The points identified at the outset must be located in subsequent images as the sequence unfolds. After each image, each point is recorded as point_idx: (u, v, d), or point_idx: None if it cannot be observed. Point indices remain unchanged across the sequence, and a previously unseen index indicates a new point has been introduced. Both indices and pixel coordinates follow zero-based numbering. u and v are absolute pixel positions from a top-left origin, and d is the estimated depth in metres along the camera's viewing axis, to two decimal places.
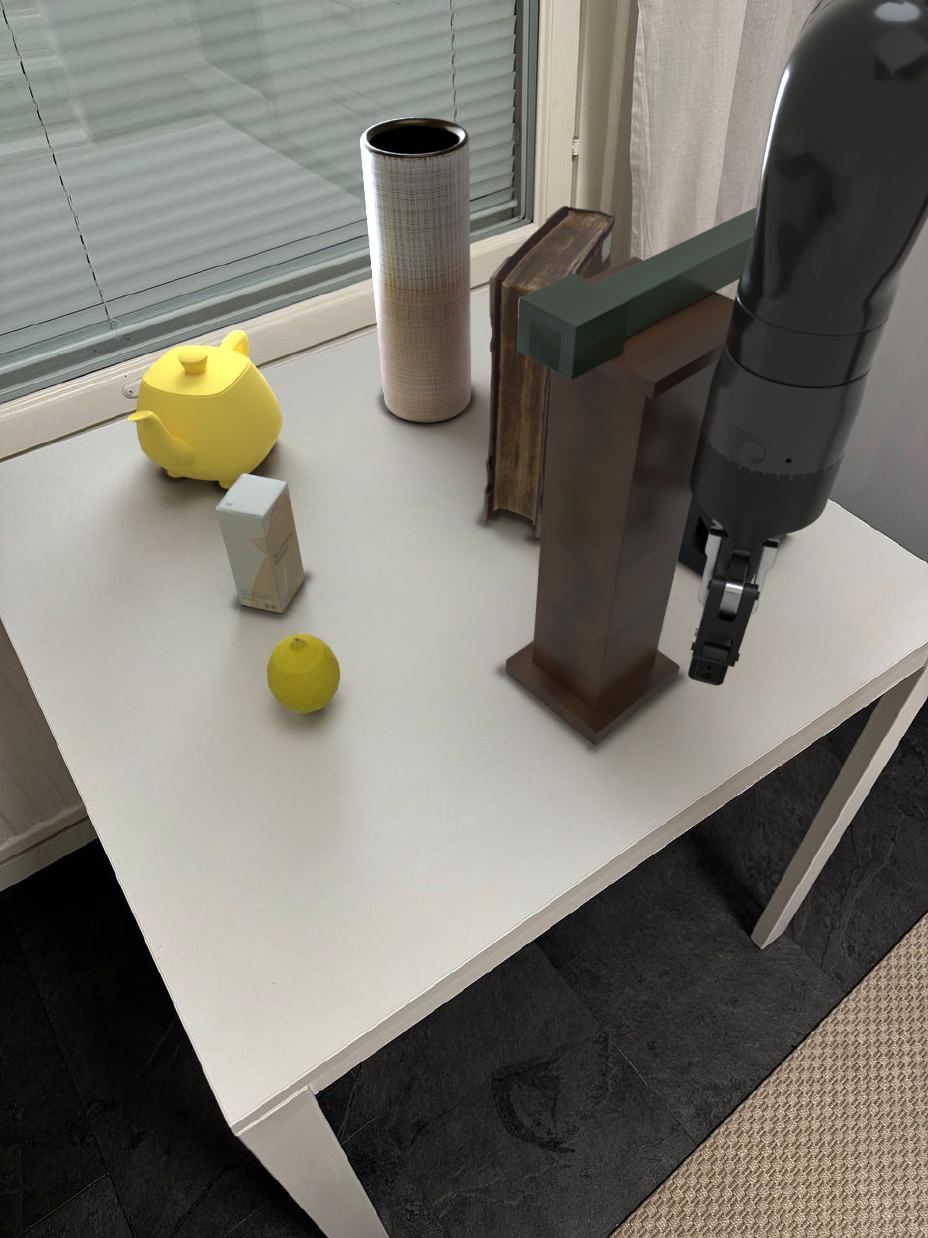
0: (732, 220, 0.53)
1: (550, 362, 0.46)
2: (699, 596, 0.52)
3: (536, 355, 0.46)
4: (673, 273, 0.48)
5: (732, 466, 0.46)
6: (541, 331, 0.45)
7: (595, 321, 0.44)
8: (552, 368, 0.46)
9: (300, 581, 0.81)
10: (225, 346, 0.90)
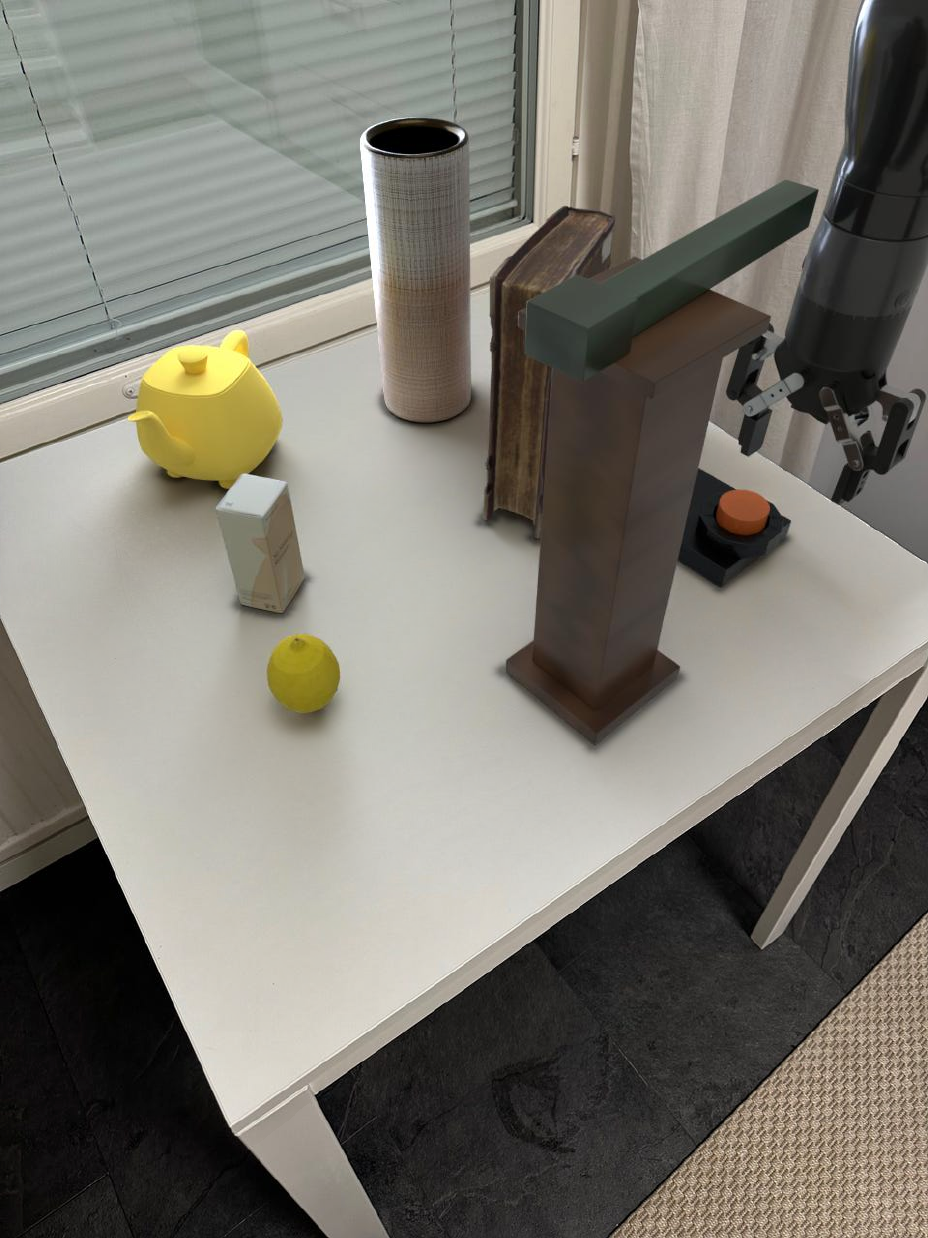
0: (723, 216, 0.53)
1: (560, 364, 0.46)
2: (851, 436, 0.65)
3: (546, 358, 0.46)
4: (674, 271, 0.48)
5: (887, 319, 0.58)
6: (551, 334, 0.45)
7: (606, 322, 0.44)
8: (562, 370, 0.46)
9: (300, 581, 0.81)
10: (225, 347, 0.90)
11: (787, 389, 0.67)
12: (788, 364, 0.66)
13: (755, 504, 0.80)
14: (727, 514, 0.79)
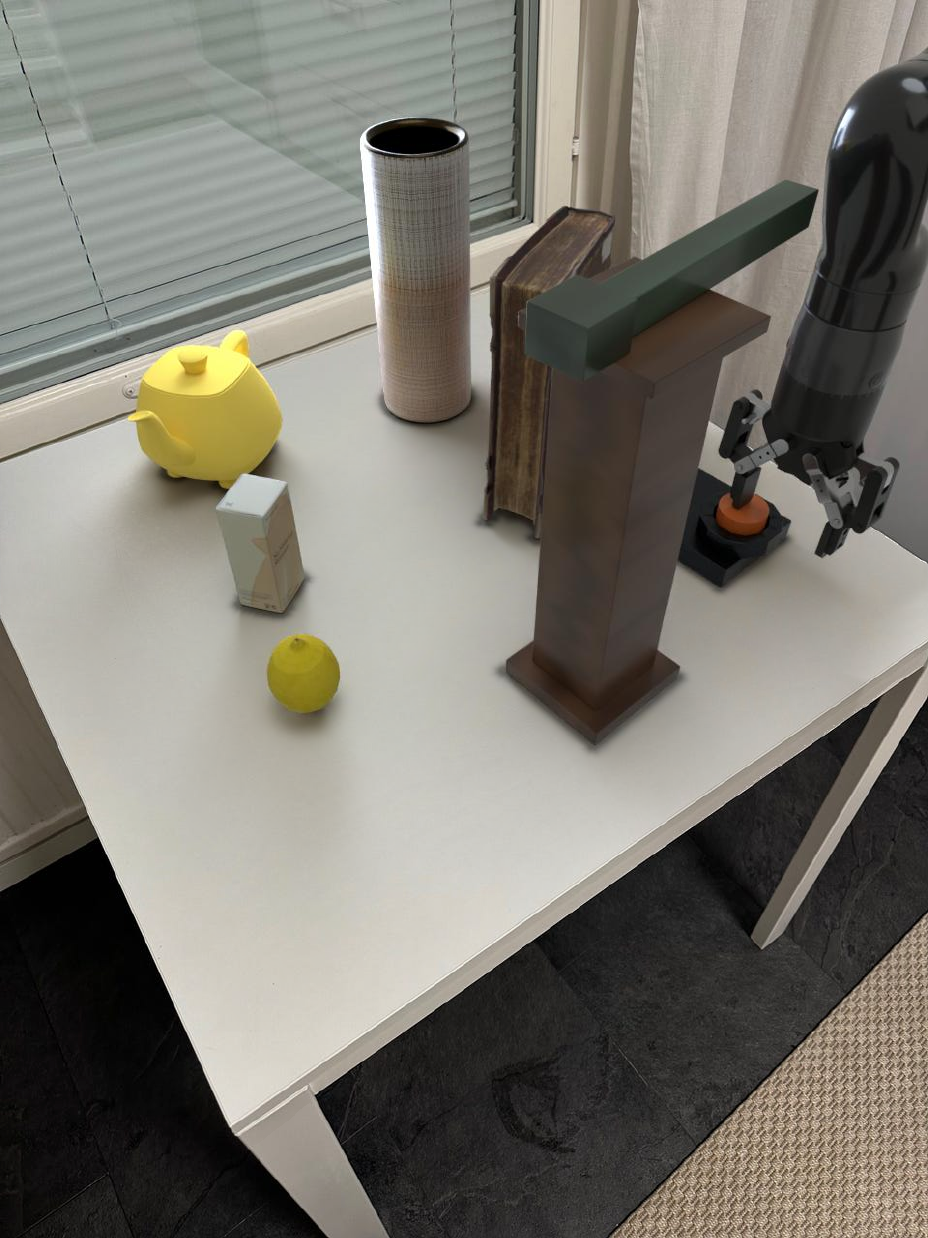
0: (723, 216, 0.53)
1: (560, 364, 0.46)
2: (831, 498, 0.70)
3: (546, 358, 0.46)
4: (674, 271, 0.48)
5: (862, 397, 0.64)
6: (551, 334, 0.45)
7: (606, 322, 0.44)
8: (562, 370, 0.46)
9: (300, 581, 0.81)
10: (225, 346, 0.90)
11: (773, 453, 0.72)
12: (775, 430, 0.72)
13: (754, 506, 0.80)
14: (726, 516, 0.79)
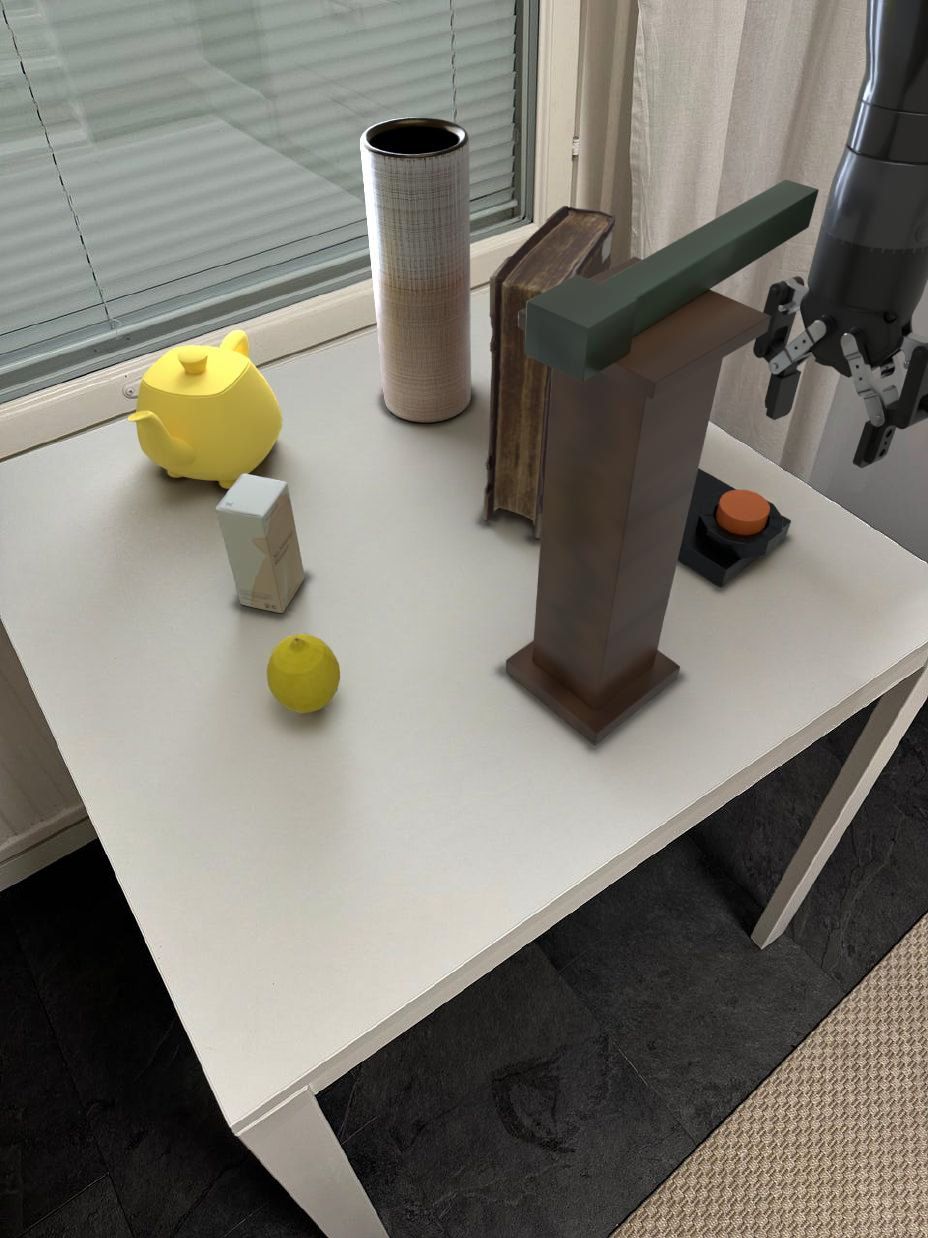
0: (723, 216, 0.53)
1: (560, 364, 0.46)
2: (872, 387, 0.62)
3: (546, 358, 0.46)
4: (674, 271, 0.48)
5: (907, 253, 0.56)
6: (551, 334, 0.45)
7: (606, 322, 0.44)
8: (562, 370, 0.46)
9: (300, 581, 0.81)
10: (225, 347, 0.90)
11: (810, 339, 0.65)
12: (813, 313, 0.64)
13: (755, 504, 0.80)
14: (727, 514, 0.79)
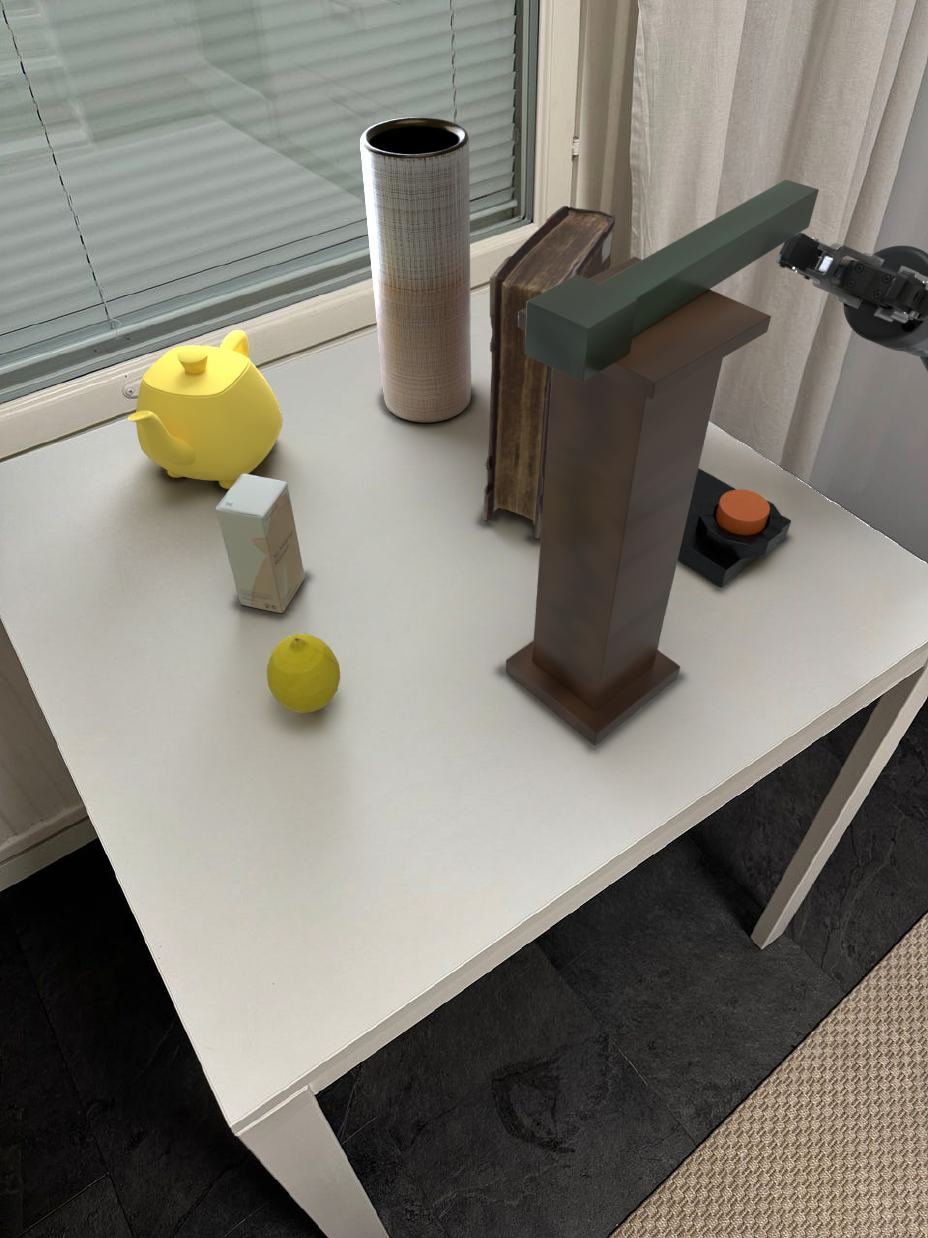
0: (723, 216, 0.53)
1: (560, 364, 0.46)
2: None
3: (546, 358, 0.46)
4: (674, 271, 0.48)
5: None
6: (551, 334, 0.45)
7: (606, 322, 0.44)
8: (562, 370, 0.46)
9: (300, 581, 0.81)
10: (225, 347, 0.90)
11: (884, 315, 0.69)
12: None
13: (755, 504, 0.80)
14: (727, 514, 0.79)
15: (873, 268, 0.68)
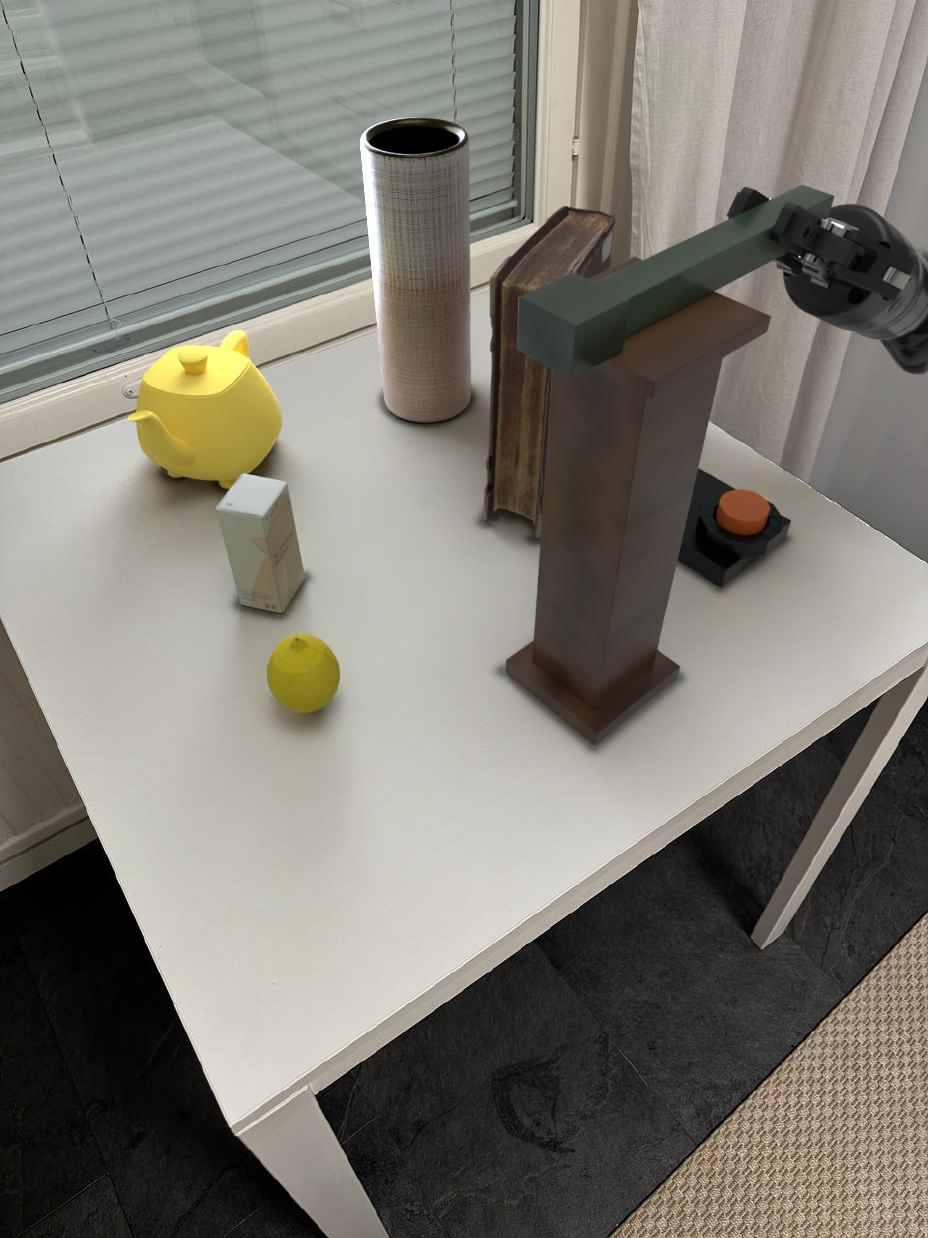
0: (732, 220, 0.53)
1: (550, 361, 0.46)
2: None
3: (536, 354, 0.47)
4: (673, 273, 0.48)
5: None
6: (541, 330, 0.45)
7: (595, 320, 0.44)
8: (552, 367, 0.46)
9: (300, 581, 0.81)
10: (226, 347, 0.90)
11: (825, 283, 0.59)
12: (848, 282, 0.59)
13: (755, 504, 0.80)
14: (727, 514, 0.79)
15: None
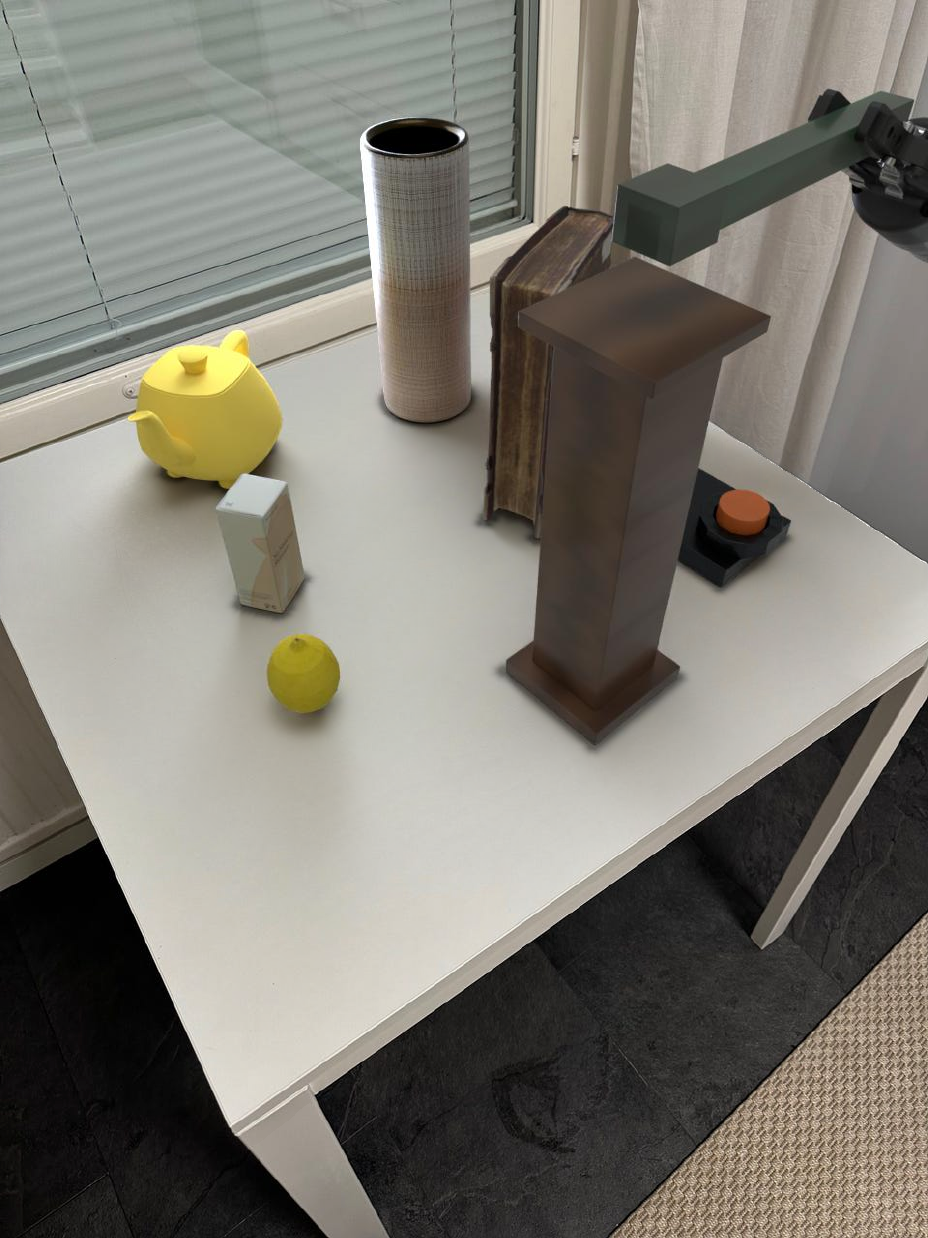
0: (816, 120, 0.53)
1: (647, 249, 0.46)
2: None
3: (633, 244, 0.47)
4: (765, 165, 0.48)
5: None
6: (640, 217, 0.46)
7: (696, 204, 0.44)
8: (649, 255, 0.46)
9: (300, 581, 0.81)
10: (225, 347, 0.90)
11: (900, 193, 0.59)
12: (922, 192, 0.60)
13: (755, 504, 0.80)
14: (727, 514, 0.79)
15: None
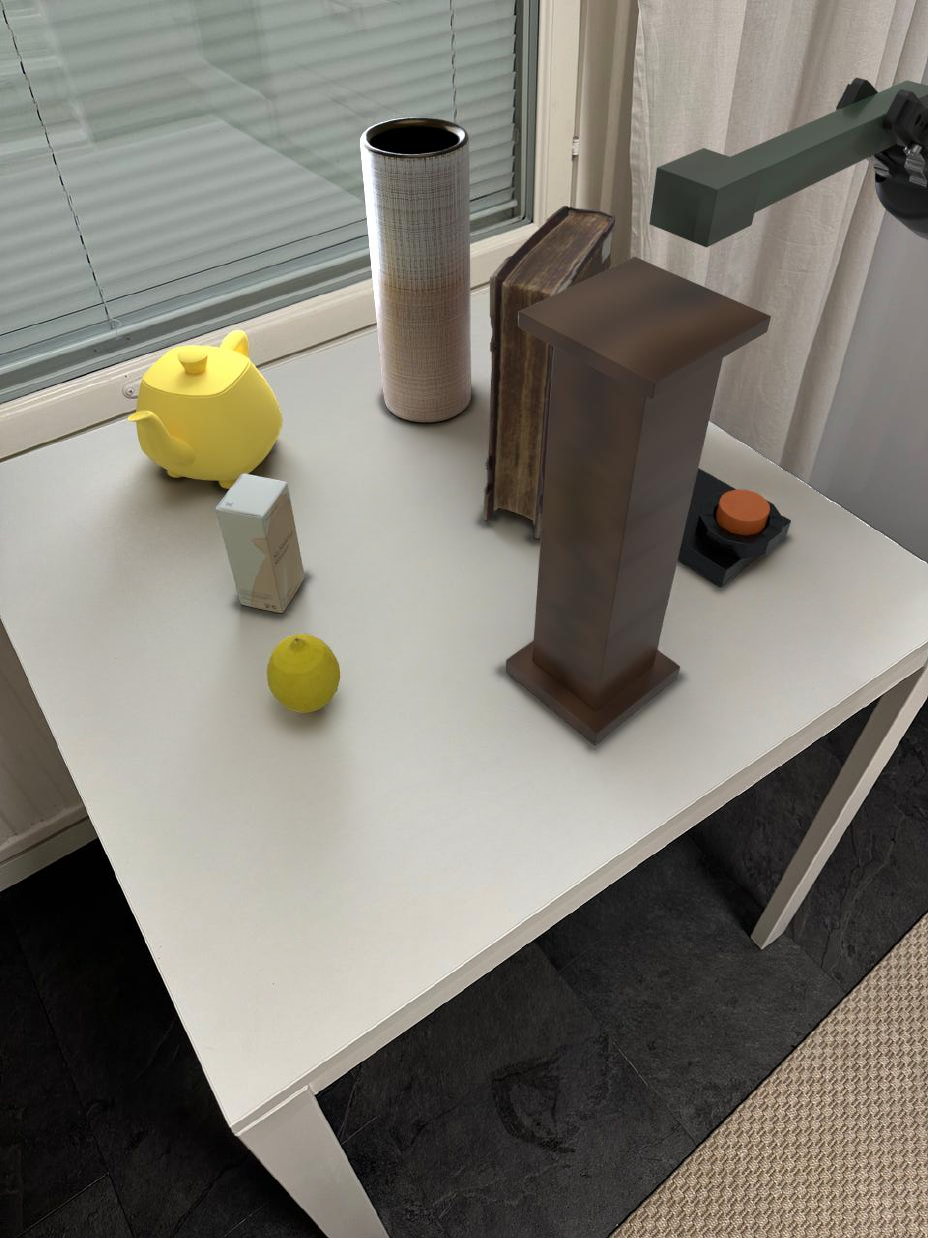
0: (845, 108, 0.54)
1: (685, 231, 0.48)
2: None
3: (670, 226, 0.48)
4: (798, 150, 0.50)
5: None
6: (678, 199, 0.47)
7: (733, 186, 0.46)
8: (686, 237, 0.48)
9: (300, 581, 0.81)
10: (225, 347, 0.90)
11: (924, 180, 0.61)
12: None
13: (755, 504, 0.80)
14: (727, 514, 0.79)
15: None
